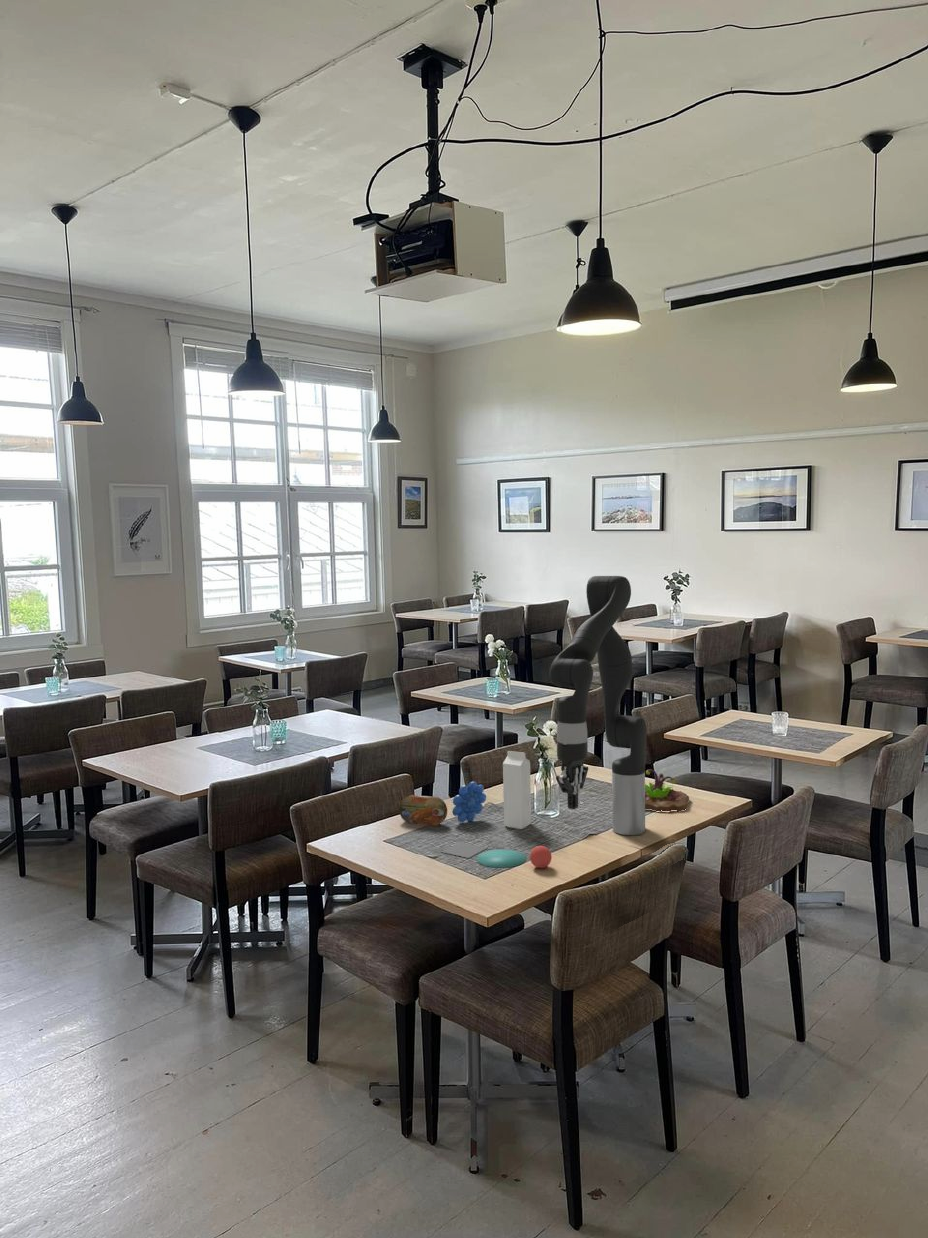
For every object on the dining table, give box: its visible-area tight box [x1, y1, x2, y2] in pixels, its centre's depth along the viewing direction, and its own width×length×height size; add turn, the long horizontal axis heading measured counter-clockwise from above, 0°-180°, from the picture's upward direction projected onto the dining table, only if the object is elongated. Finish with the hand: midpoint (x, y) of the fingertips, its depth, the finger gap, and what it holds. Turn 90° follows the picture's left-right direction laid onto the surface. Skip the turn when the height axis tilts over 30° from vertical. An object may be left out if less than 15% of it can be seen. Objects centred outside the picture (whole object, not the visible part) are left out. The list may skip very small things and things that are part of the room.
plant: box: [645, 768, 690, 811], centre depth 275 cm, size 20×20×11 cm
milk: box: [502, 750, 532, 830], centre depth 256 cm, size 6×6×22 cm
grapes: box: [452, 781, 487, 823], centre depth 262 cm, size 12×7×12 cm, turn 120°
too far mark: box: [440, 841, 488, 859], centre depth 236 cm, size 9×9×1 cm
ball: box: [529, 845, 552, 869], centre depth 222 cm, size 6×6×6 cm
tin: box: [398, 794, 448, 827], centre depth 260 cm, size 15×3×8 cm, turn 68°
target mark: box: [476, 848, 527, 869], centre depth 229 cm, size 13×13×1 cm
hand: (572, 808), depth 215 cm, fingers closed
